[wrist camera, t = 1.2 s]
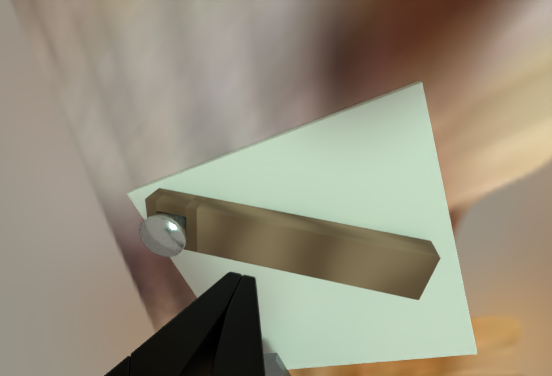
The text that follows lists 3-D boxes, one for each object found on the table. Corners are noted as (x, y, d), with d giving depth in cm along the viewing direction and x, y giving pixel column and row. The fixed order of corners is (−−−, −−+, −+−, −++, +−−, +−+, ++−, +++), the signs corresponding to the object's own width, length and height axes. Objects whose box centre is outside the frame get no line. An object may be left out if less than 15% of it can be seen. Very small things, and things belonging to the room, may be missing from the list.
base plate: (472, 344, 24) (500, 400, 20) (249, 365, 30) (238, 409, 27) (417, 81, 16) (446, 89, 12) (132, 189, 23) (93, 216, 19)
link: (162, 228, 22) (149, 242, 21) (159, 187, 21) (144, 199, 19) (411, 281, 20) (418, 300, 19) (431, 240, 19) (440, 258, 17)
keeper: (296, 355, 27) (293, 389, 24) (239, 360, 29) (230, 392, 26) (281, 327, 26) (275, 360, 23) (222, 335, 28) (211, 366, 25)
